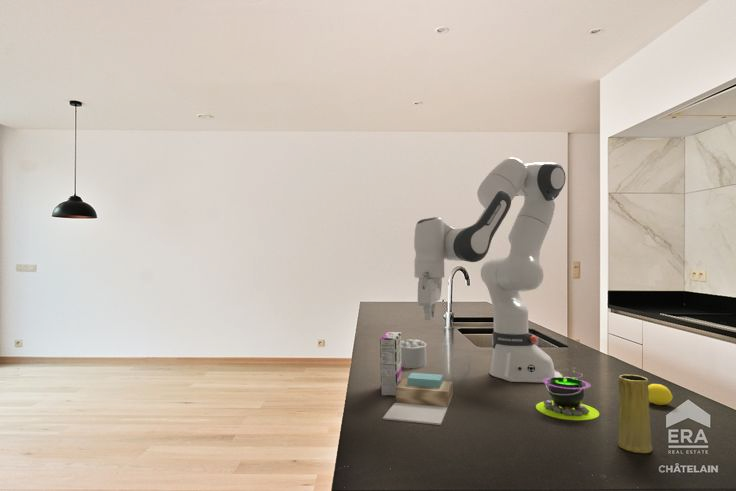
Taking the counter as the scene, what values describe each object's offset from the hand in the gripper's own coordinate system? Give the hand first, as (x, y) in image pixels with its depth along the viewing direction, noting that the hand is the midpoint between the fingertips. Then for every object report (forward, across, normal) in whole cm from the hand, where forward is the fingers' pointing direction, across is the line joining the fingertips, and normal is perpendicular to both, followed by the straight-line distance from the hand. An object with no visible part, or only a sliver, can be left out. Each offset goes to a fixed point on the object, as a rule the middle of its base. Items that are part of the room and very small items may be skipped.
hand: (429, 318), depth 137 cm
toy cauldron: (+22, -8, -36) cm, 43 cm away
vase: (+21, -29, -47) cm, 59 cm away
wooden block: (+21, -9, 0) cm, 23 cm away
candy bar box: (+21, -4, +11) cm, 24 cm away
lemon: (+21, +4, -60) cm, 64 cm away
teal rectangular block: (+17, -8, 0) cm, 19 cm away
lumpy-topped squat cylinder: (+22, +31, +12) cm, 40 cm away
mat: (+21, -22, 0) cm, 30 cm away
